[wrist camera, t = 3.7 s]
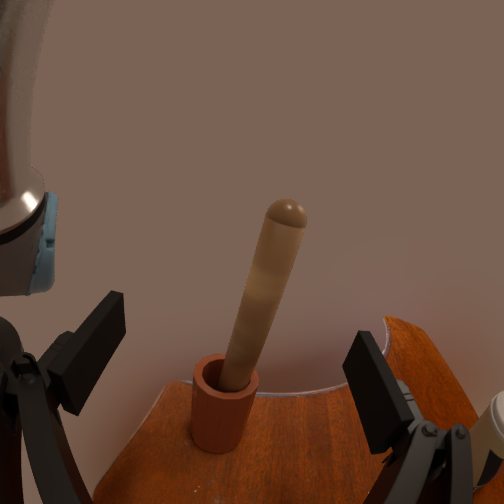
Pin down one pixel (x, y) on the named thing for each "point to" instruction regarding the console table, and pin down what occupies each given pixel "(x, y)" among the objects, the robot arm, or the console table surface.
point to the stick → (263, 291)
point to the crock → (218, 408)
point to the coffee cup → (488, 443)
